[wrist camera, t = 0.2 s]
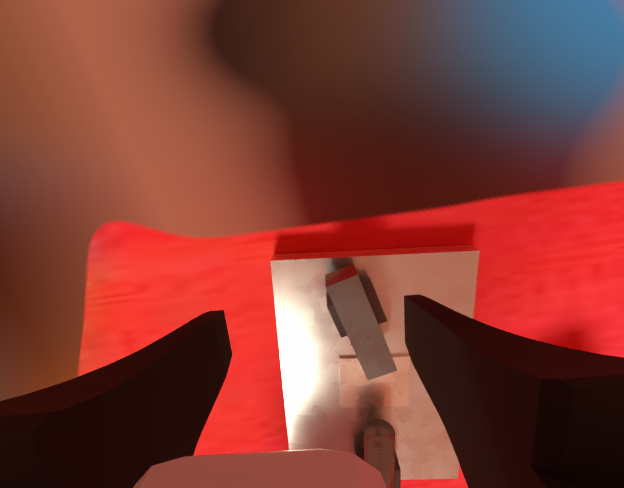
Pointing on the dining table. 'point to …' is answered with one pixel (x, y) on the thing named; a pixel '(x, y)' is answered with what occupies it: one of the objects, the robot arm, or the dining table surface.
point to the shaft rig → (366, 353)
